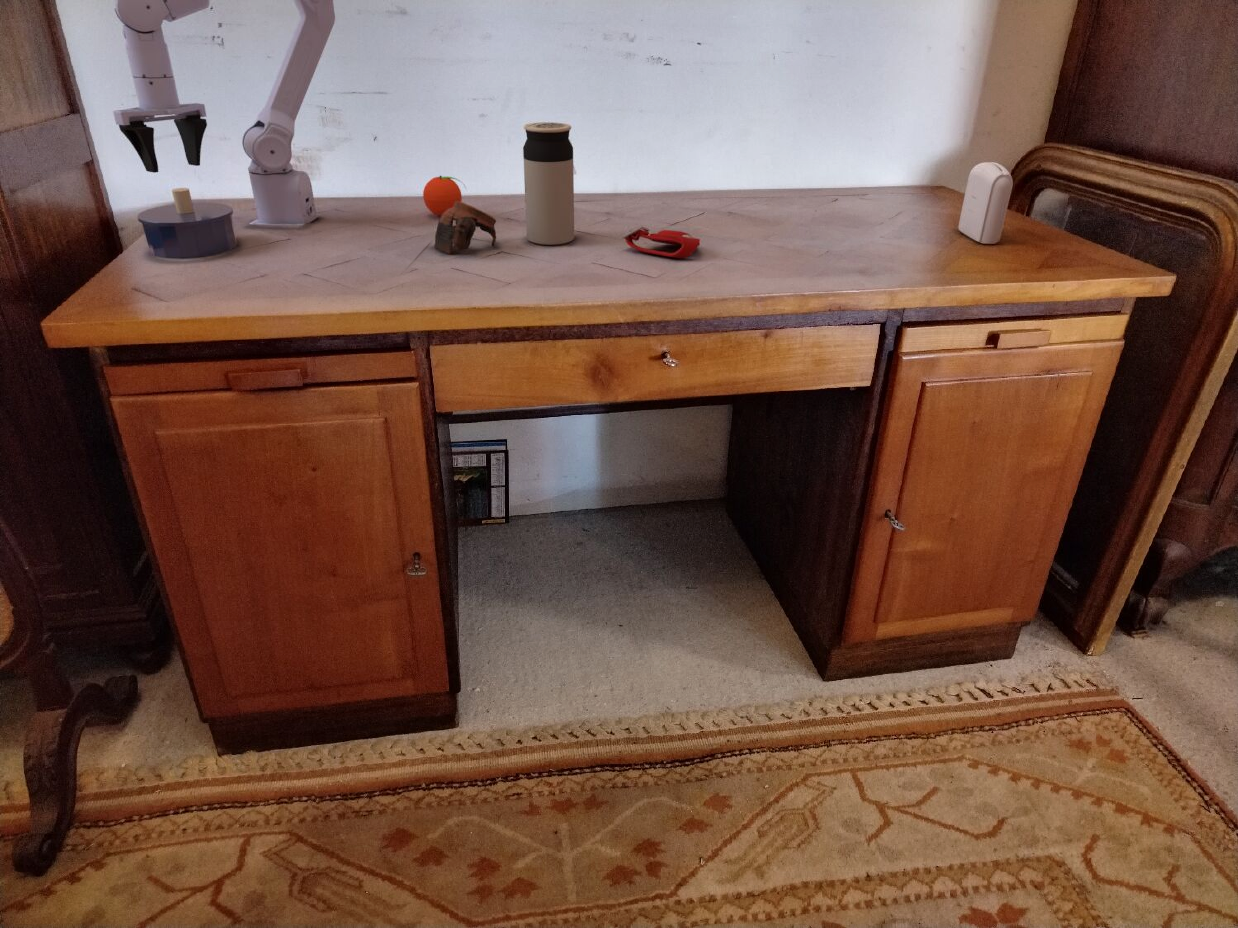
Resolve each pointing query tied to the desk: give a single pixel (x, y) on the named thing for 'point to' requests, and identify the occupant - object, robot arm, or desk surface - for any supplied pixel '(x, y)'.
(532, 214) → the travel mug
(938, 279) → the desk surface
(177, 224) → the crock lid
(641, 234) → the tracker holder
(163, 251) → the crock
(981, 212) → the photo printer
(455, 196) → the clementine
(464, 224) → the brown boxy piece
